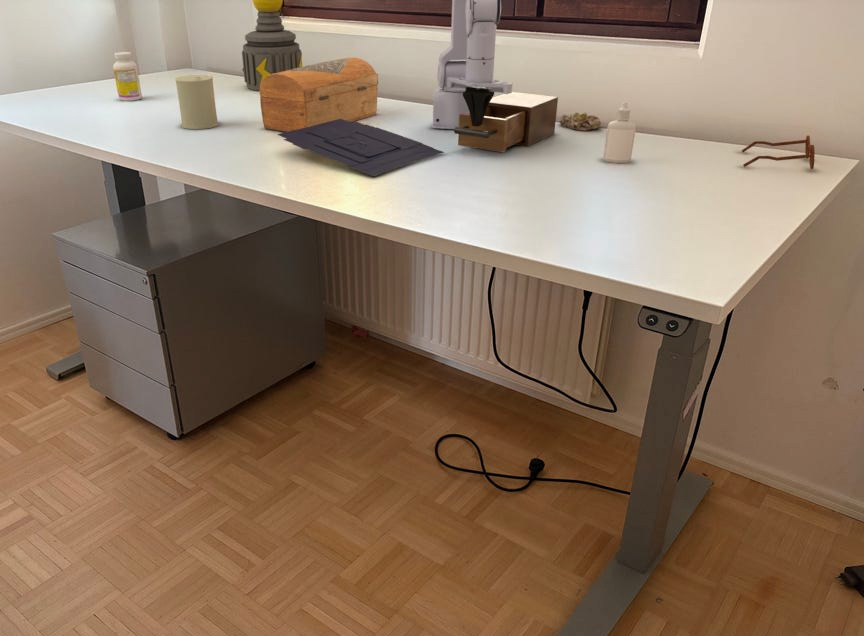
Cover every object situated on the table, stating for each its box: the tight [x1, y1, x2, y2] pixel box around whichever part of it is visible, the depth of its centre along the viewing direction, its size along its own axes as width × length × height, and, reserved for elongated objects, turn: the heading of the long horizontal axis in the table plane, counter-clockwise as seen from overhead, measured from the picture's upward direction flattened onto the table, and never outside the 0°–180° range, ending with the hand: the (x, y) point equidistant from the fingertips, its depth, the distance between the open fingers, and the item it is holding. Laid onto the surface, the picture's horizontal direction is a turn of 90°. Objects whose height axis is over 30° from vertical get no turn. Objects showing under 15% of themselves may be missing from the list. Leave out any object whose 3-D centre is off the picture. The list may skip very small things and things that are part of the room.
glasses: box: [741, 135, 816, 170], centre depth 155 cm, size 13×13×5 cm
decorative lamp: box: [241, 0, 303, 92], centre depth 230 cm, size 19×19×30 cm
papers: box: [276, 119, 445, 177], centre depth 163 cm, size 24×30×4 cm
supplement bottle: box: [112, 51, 143, 102], centre depth 218 cm, size 7×7×13 cm
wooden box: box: [259, 57, 379, 133], centre depth 190 cm, size 30×16×14 cm, turn 145°
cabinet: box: [488, 91, 559, 147], centre depth 175 cm, size 15×13×9 cm
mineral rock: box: [559, 112, 602, 132], centre depth 185 cm, size 11×4×8 cm
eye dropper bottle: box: [602, 101, 637, 164], centre depth 155 cm, size 4×6×12 cm
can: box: [174, 74, 219, 130], centre depth 187 cm, size 9×9×12 cm
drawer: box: [453, 106, 528, 153], centre depth 165 cm, size 18×11×7 cm, turn 145°
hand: (476, 125), depth 160 cm, fingers closed
